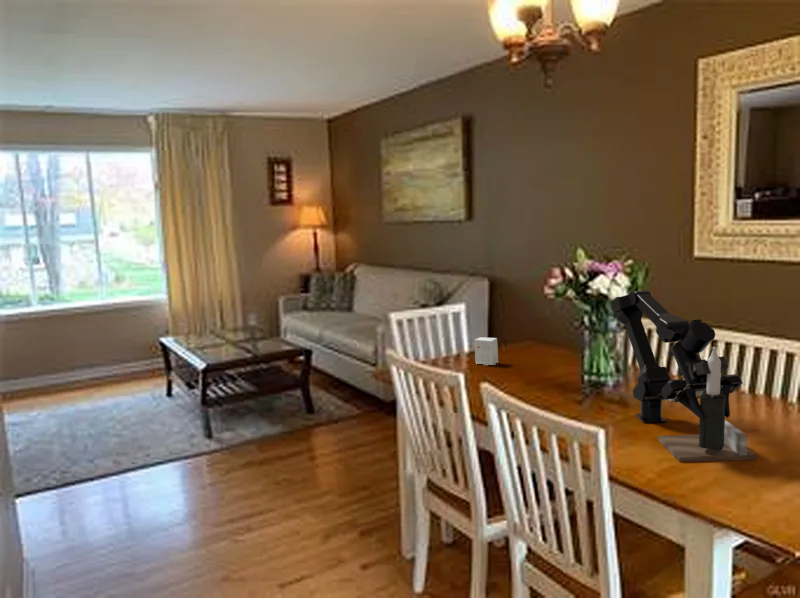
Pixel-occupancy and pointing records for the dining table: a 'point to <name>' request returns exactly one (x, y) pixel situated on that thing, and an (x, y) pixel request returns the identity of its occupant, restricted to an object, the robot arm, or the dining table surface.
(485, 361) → the small box
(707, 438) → the candle
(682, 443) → the shelf board
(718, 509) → the dining table surface
